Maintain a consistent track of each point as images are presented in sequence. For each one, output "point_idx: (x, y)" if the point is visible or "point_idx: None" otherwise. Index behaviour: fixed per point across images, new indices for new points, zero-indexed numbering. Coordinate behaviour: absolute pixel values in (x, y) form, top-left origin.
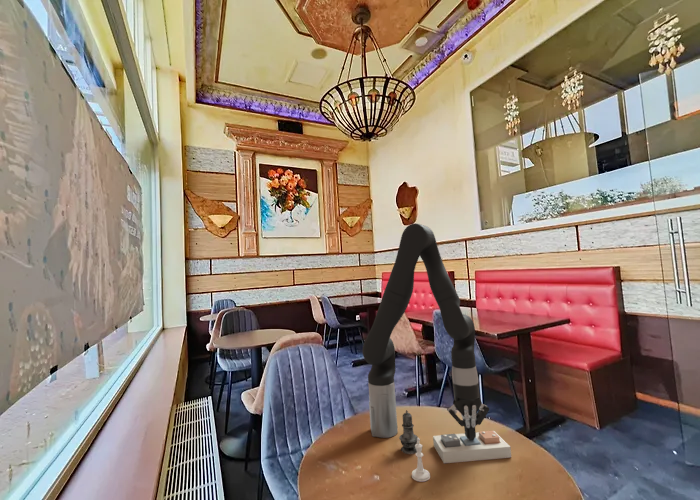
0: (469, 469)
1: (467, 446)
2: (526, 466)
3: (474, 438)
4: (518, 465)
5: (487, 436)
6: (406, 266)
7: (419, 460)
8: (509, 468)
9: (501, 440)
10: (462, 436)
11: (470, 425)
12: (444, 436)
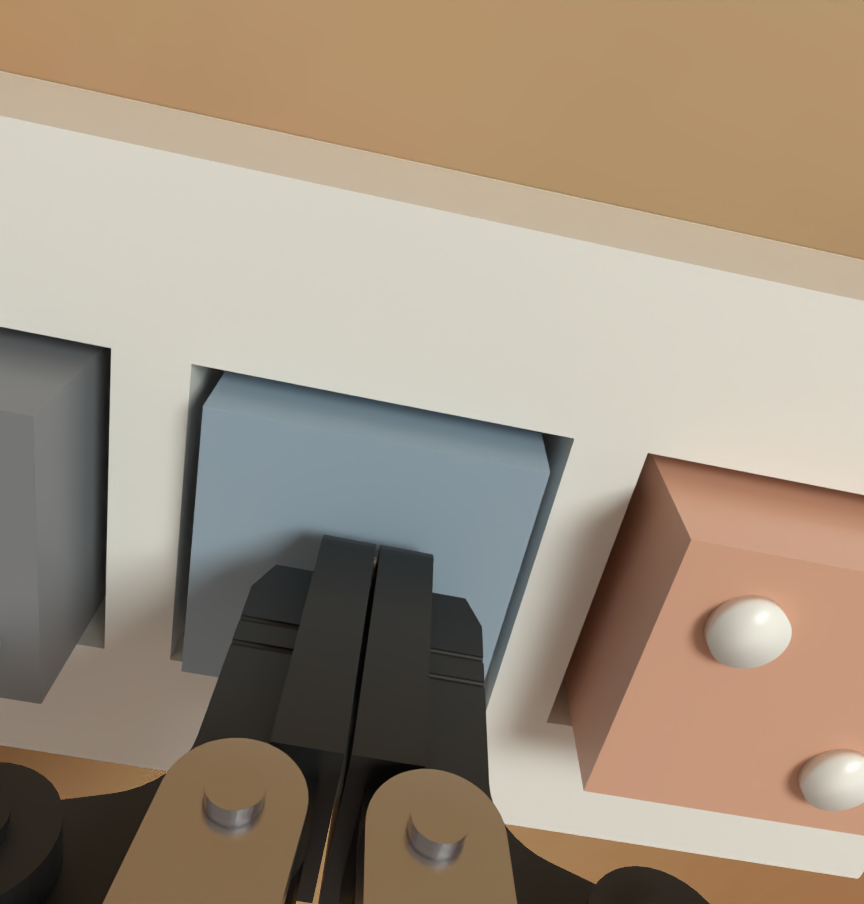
0: (125, 767)
1: (202, 686)
2: (777, 895)
3: (466, 584)
4: (717, 864)
5: (692, 754)
6: None
7: None
8: (578, 871)
9: None
10: (260, 423)
11: (346, 884)
12: None
